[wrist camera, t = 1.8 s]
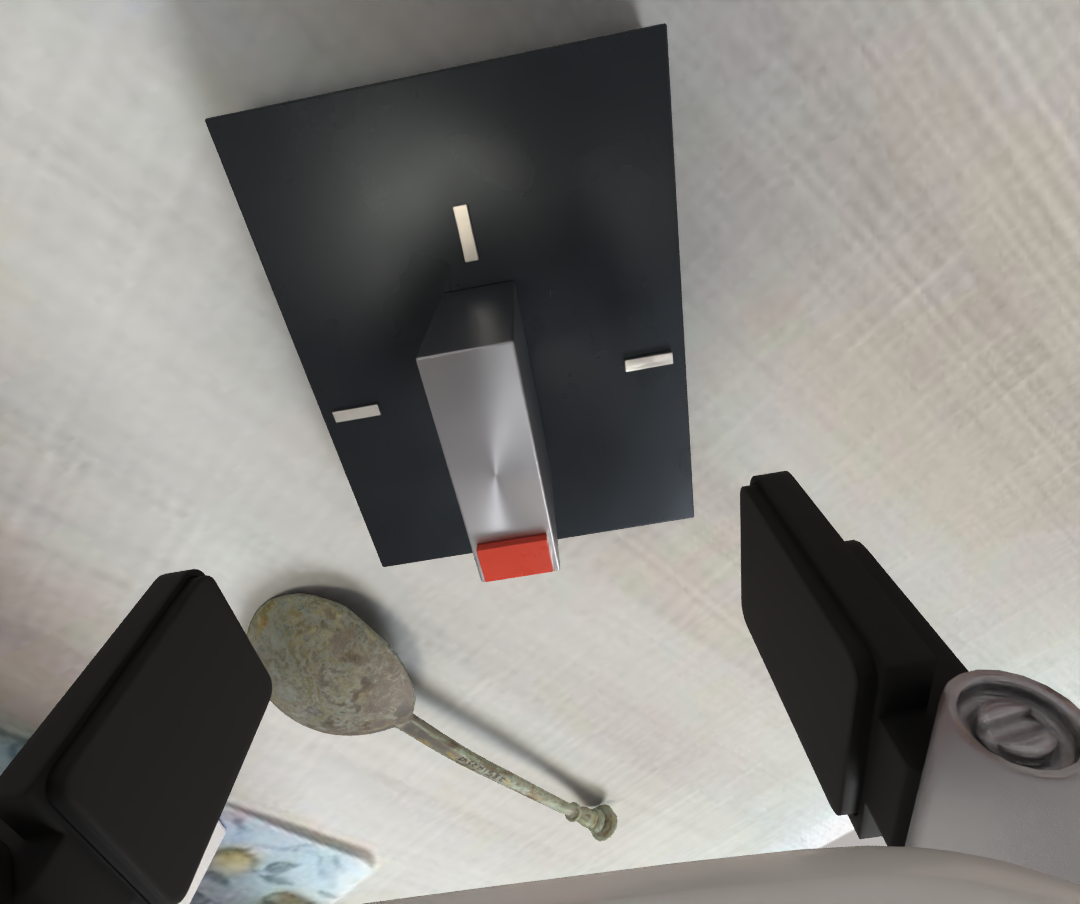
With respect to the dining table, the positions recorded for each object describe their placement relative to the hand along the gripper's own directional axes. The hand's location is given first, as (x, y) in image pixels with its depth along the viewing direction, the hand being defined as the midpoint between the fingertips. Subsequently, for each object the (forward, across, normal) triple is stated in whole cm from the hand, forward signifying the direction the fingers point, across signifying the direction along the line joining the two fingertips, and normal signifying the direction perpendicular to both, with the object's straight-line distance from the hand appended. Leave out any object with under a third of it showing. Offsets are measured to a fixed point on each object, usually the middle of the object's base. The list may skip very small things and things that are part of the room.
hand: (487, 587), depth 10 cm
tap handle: (+8, 0, 0) cm, 8 cm away
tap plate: (+11, 0, -1) cm, 11 cm away
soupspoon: (+11, +6, +18) cm, 22 cm away
